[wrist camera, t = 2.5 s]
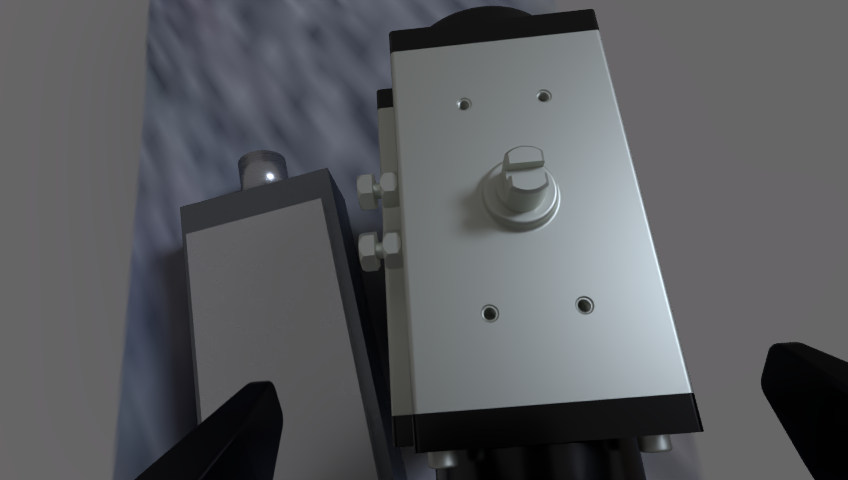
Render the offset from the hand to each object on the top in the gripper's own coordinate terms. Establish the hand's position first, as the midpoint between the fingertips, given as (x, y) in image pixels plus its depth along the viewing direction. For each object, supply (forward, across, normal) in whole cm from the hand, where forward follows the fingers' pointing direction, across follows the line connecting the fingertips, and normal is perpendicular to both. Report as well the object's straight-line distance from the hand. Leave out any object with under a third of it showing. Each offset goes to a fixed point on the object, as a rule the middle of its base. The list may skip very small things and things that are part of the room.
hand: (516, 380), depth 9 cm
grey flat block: (+9, +7, +6) cm, 13 cm away
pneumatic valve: (+10, 0, +5) cm, 11 cm away
